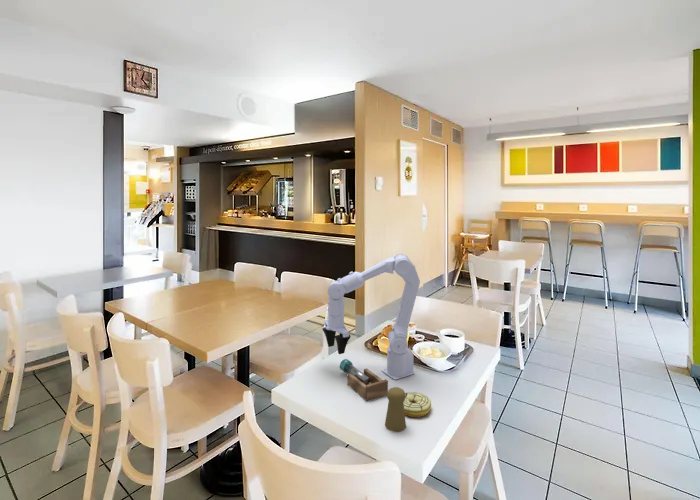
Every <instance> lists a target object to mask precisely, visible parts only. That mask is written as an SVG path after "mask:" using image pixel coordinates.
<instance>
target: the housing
mask: <svg viewBox="0 0 700 500" xmlns="http://www.w3.org/2000/svg"><path fill="white" fill-rule="evenodd" d="M363 374H365V375H366V376H367V377H369V378H370V383H369V384H368V385H365V384H364V383H363V382H361V381H360V380H359V379H357V378H356V377H355V376H354V375H352V374H351V373H347V376H346V377H347V382H346V383H347V386H349V388H351V389H352V390H353V391H354V392H355V393H357V395H359V396H360V397H362V398H363V399H364V400H365V401H366V402H367V403H368V402H371V401H374V400H377V399H379V398H384V397H387V392H388V390H389V389H388V388H389V381H388V380H387V379H386V378H385V379H382V378H381V377H379V376H378V375H377V374H376V373H373V372H372V371H371V370H370V369H368V368H364V369H363Z"/></svg>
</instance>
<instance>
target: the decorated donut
mask: <svg viewBox="0 0 700 500" xmlns="http://www.w3.org/2000/svg"><path fill="white" fill-rule="evenodd" d="M405 395H406V397H405V400H404V402H403V403H404V412H405V416H409V417H412V418H417V417H419V418H420V417H424V416H426V415H427V414H428V413H429V412H430V410H431V408H432V401H431V399H430V398H429V397H428V396H427V395H425V394H424V393H421V392H417V391H416V392H415V391H414V392H413V391H411V392H409V391H408V392H405Z"/></svg>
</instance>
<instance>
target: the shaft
mask: <svg viewBox="0 0 700 500" xmlns="http://www.w3.org/2000/svg"><path fill="white" fill-rule="evenodd" d="M339 369H340V370H341V371H342V372H343V373H347V374H349V373H351V374H352V375H354V376H355V377H356V378H357V379H359V380H360V381H361V382H363V383H364V384H365V385H368V384H369V383H370V378H369V377H367V376H366V375H365V374H364V372H362V371H361V370H360V369H358V368H357V367H356V366H354V364H353V362H352V361H351V360H350V359H347V358H344V359H343V360H341V362H340V363H339Z"/></svg>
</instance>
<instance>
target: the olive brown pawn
mask: <svg viewBox="0 0 700 500" xmlns="http://www.w3.org/2000/svg"><path fill="white" fill-rule="evenodd" d="M405 393H406V391H405V390H404V389H403V388H401V387H398V386H393V387H390V388H389V389H388V392H387V395H386V397H387V400H388V403H387V409H386V415H385V422H384V427H385V428H386V429H387V430H388V431H391V432H393V433H398V432H399V433H400V432H403V431H405V429H406V428H407V423H406V414H405V412H404V403H403V402H404V400H405V397H406V395H405Z"/></svg>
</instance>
